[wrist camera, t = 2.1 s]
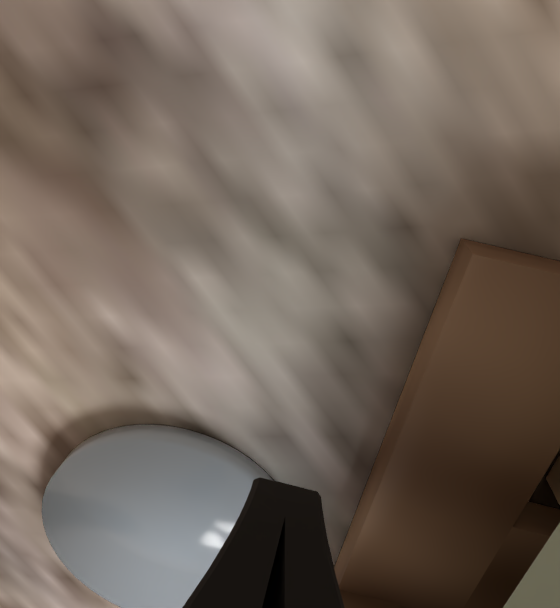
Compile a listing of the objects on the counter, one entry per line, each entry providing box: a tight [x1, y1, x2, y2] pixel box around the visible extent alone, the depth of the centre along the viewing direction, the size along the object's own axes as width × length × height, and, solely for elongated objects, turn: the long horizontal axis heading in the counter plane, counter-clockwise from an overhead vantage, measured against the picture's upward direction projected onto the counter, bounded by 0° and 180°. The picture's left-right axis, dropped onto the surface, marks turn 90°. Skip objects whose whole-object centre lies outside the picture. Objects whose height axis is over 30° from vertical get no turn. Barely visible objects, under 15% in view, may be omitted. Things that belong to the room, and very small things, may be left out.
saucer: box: [42, 424, 273, 608], centre depth 17 cm, size 9×9×1 cm
